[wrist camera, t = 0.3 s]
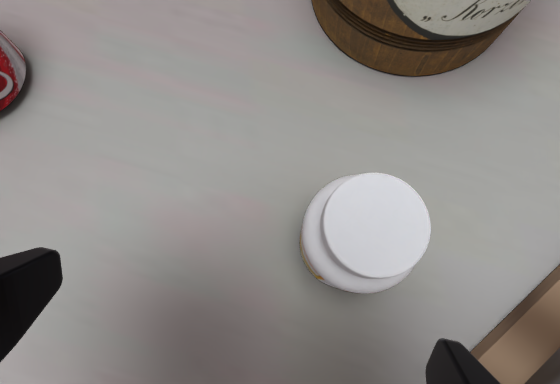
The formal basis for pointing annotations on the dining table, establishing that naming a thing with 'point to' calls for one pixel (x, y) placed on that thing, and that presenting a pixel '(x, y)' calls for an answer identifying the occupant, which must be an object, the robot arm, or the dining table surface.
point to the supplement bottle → (364, 232)
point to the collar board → (527, 339)
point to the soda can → (10, 71)
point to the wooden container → (415, 31)
